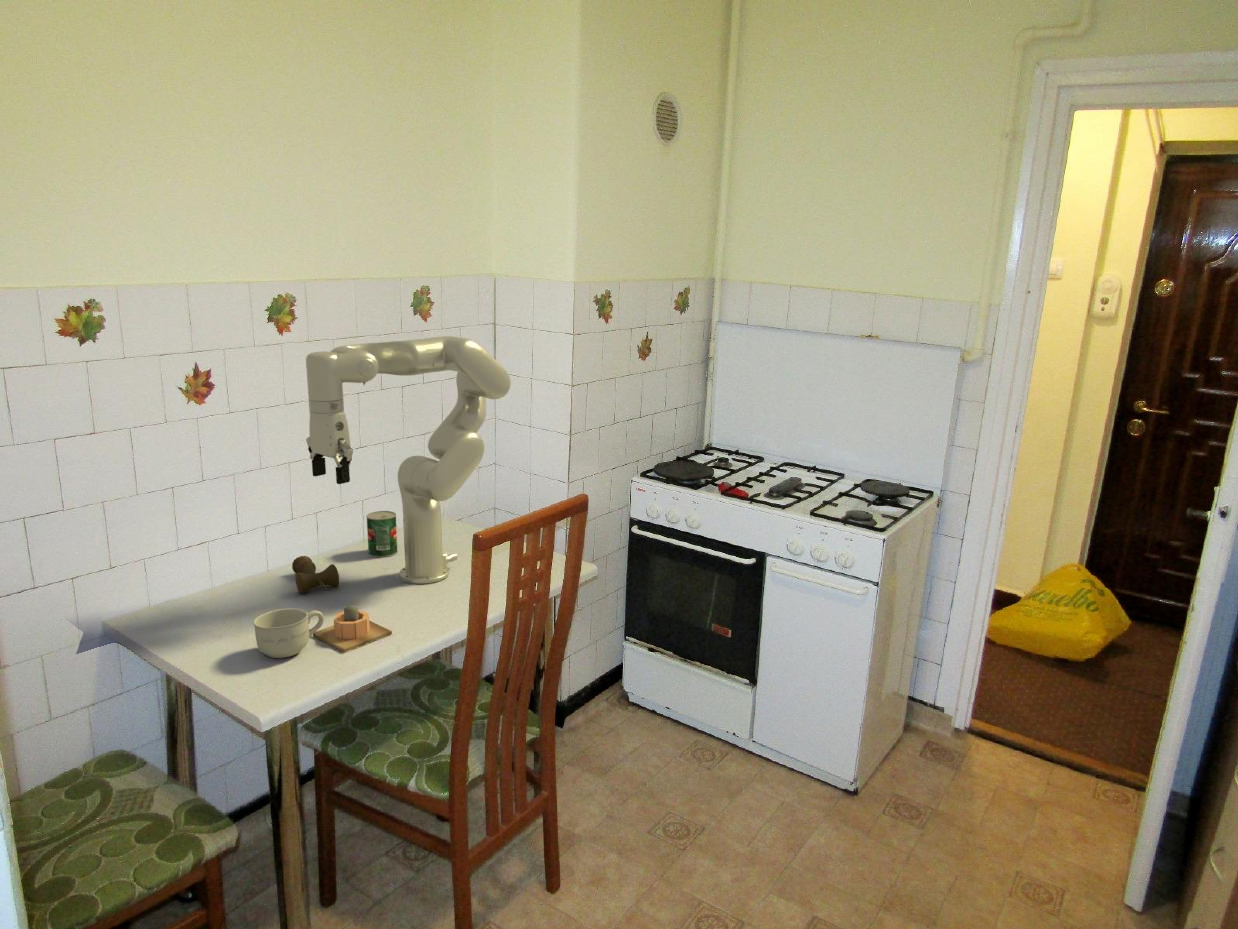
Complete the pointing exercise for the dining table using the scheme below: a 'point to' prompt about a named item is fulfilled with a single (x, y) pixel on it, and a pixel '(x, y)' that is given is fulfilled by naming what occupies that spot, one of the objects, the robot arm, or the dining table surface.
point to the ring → (351, 626)
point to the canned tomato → (382, 533)
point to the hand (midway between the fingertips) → (331, 479)
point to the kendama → (313, 575)
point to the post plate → (350, 644)
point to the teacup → (284, 631)
